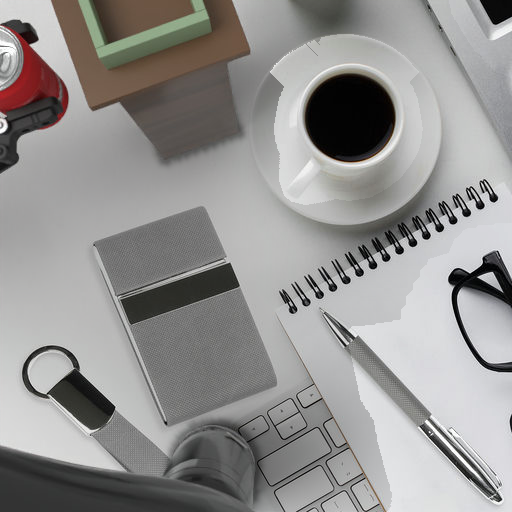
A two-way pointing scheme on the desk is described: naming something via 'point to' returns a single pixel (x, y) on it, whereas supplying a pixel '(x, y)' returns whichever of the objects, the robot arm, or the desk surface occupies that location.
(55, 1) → the can holder
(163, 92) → the stand column
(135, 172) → the desk surface
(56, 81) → the beverage can
